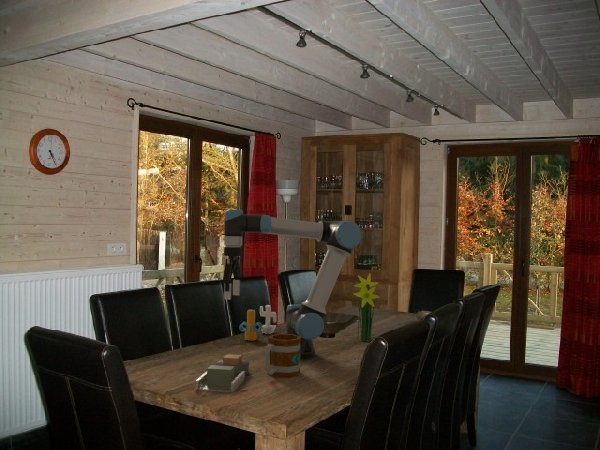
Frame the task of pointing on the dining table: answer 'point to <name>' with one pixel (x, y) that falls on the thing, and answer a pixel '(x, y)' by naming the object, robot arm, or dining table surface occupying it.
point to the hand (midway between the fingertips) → (231, 297)
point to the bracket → (202, 384)
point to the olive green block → (220, 375)
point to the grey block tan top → (235, 364)
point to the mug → (283, 355)
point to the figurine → (267, 319)
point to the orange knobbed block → (250, 326)
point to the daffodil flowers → (366, 306)
